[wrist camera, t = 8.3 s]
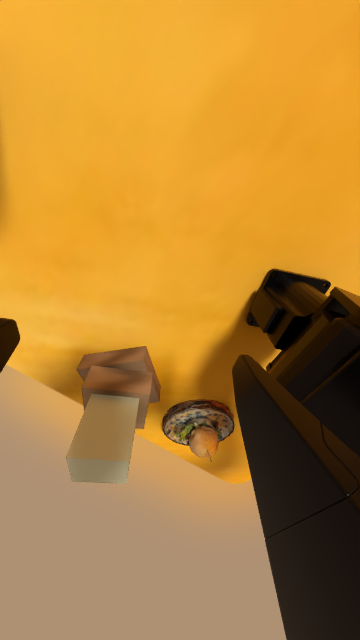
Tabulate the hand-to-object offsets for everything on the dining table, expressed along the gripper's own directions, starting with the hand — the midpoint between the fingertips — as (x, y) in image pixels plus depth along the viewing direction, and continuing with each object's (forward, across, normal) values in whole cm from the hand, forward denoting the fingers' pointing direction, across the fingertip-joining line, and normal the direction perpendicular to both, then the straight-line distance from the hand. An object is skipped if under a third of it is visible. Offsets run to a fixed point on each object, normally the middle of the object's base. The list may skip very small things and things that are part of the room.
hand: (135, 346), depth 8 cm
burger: (+13, -11, +26) cm, 31 cm away
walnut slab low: (+13, +2, +16) cm, 21 cm away
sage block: (+7, +2, +16) cm, 18 cm away
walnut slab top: (+10, +2, +17) cm, 20 cm away
